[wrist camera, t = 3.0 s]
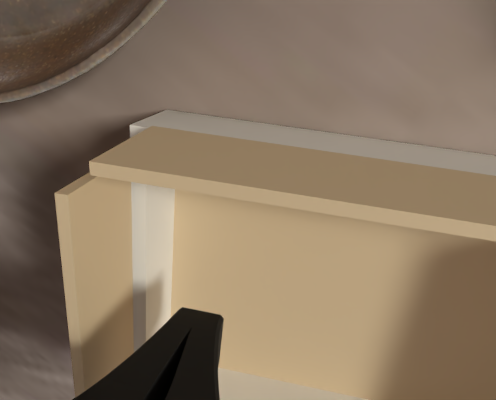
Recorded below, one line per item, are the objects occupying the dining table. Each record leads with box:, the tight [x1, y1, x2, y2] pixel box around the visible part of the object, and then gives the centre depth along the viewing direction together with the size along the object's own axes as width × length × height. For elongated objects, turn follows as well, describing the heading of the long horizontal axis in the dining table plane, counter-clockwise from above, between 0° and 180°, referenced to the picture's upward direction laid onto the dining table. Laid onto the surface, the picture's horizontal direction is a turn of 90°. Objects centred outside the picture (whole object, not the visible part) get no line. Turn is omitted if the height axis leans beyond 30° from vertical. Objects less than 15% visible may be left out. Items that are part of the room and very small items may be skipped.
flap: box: [55, 172, 134, 398], centre depth 11 cm, size 3×10×1 cm
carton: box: [130, 110, 496, 400], centre depth 14 cm, size 15×16×3 cm
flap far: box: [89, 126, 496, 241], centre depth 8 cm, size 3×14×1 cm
